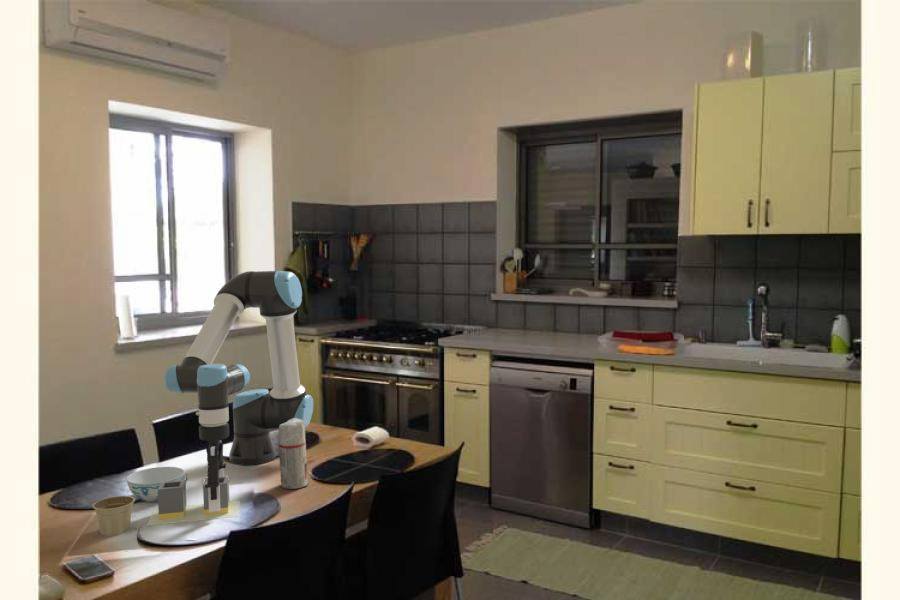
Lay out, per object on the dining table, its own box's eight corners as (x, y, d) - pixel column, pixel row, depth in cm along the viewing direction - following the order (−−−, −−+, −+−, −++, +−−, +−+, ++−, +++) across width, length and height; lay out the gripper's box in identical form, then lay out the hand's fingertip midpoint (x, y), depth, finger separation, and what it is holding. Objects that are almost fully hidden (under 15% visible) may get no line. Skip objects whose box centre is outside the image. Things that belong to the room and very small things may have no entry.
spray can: (301, 491, 203) (299, 423, 201) (275, 489, 204) (273, 422, 203) (312, 481, 211) (311, 416, 210) (287, 480, 213) (285, 416, 211)
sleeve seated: (162, 511, 184) (161, 482, 183) (186, 509, 185) (185, 479, 185) (158, 519, 178) (157, 489, 177) (183, 517, 179) (182, 487, 179)
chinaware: (129, 515, 185) (127, 487, 185) (126, 498, 199) (125, 471, 198) (188, 505, 192) (187, 478, 192) (182, 489, 206) (181, 463, 205)
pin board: (154, 513, 186) (153, 490, 186) (240, 505, 191) (239, 482, 191) (146, 531, 174) (145, 506, 174) (237, 521, 180) (236, 497, 179)
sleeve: (206, 507, 186) (205, 478, 186) (229, 505, 188) (228, 476, 187) (204, 515, 181) (202, 485, 180) (228, 513, 182) (227, 483, 181)
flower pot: (103, 529, 176) (102, 496, 175) (141, 527, 177) (140, 494, 176) (87, 544, 167) (85, 509, 166) (128, 543, 168) (126, 508, 167)
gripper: (203, 413, 194) (206, 487, 195) (193, 436, 170) (196, 520, 171) (231, 411, 196) (234, 485, 197) (225, 434, 171) (228, 517, 173)
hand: (216, 502), depth 184 cm, fingers open, 13 cm apart
